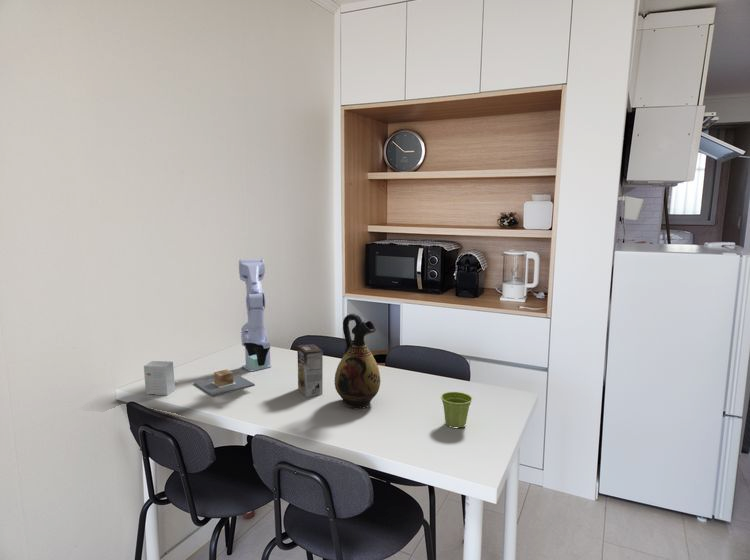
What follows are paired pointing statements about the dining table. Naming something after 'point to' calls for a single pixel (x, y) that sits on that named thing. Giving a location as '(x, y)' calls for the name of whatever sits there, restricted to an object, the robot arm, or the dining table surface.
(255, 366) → the brick teal
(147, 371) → the small box
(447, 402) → the plant pot
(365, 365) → the ceramic jug
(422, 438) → the dining table surface
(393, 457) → the dining table surface
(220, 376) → the brick walnut
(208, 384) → the baseplate
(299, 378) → the coffee box
